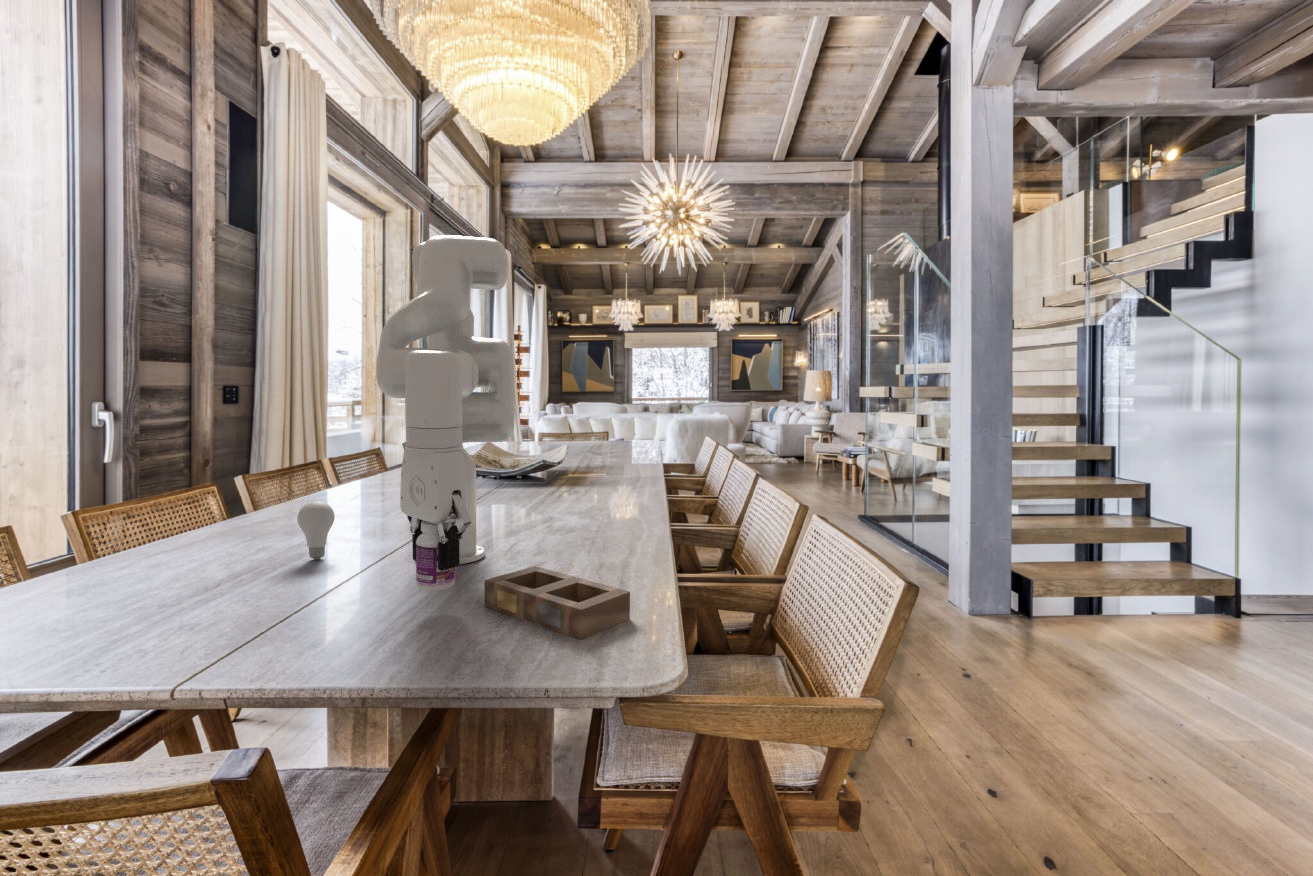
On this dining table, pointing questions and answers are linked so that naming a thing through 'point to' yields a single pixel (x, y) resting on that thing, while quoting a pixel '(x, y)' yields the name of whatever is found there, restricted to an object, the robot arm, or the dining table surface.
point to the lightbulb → (316, 526)
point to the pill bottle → (431, 561)
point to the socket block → (558, 601)
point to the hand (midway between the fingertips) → (435, 562)
